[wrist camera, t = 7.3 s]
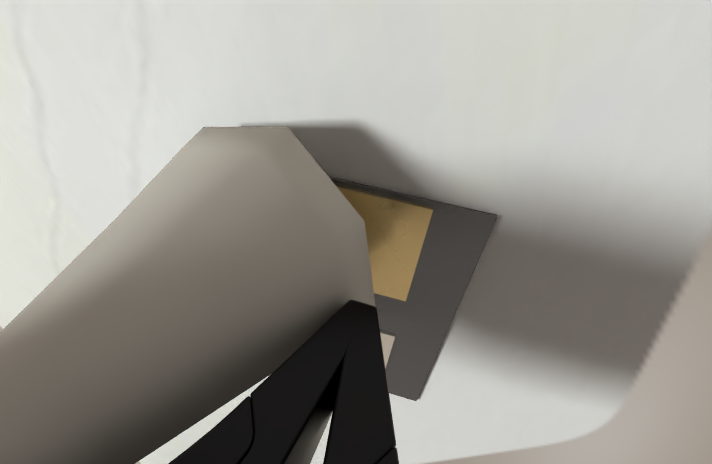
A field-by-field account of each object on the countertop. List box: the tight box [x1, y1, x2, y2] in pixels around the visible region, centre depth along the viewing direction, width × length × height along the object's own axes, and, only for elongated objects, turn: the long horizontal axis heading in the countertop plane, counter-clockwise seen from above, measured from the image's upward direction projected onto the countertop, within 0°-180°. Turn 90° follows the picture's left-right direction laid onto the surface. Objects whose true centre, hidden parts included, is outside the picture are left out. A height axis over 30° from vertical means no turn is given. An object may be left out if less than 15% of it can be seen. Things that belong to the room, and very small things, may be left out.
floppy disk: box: [329, 177, 497, 401], centre depth 13 cm, size 10×9×1 cm
